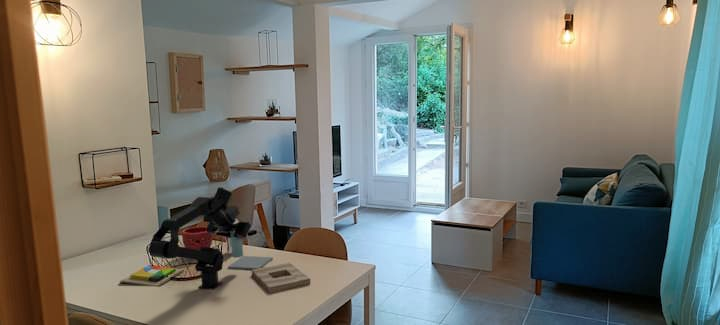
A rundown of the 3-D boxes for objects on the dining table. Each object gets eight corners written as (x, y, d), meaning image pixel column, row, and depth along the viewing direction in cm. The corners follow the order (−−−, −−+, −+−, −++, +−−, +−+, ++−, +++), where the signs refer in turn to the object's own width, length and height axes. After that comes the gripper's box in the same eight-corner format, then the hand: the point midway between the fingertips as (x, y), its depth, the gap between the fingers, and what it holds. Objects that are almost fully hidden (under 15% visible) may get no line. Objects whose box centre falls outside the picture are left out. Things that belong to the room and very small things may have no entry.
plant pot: (208, 259, 224) (206, 232, 223) (179, 259, 225) (177, 233, 223) (217, 249, 237) (215, 225, 236) (190, 250, 238) (187, 226, 236)
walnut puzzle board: (310, 283, 191) (310, 278, 190) (269, 292, 183) (269, 287, 183) (289, 267, 210) (289, 262, 210) (252, 274, 202) (251, 270, 202)
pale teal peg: (245, 255, 207) (243, 227, 205) (235, 258, 204) (233, 229, 202) (239, 253, 210) (238, 225, 208) (230, 255, 207) (228, 227, 205)
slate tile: (258, 270, 207) (258, 268, 207) (228, 268, 211) (227, 266, 211) (272, 259, 221) (272, 257, 221) (243, 257, 224) (243, 255, 224)
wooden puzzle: (161, 287, 194) (160, 278, 193) (118, 285, 197) (117, 276, 197) (185, 271, 210) (185, 263, 210) (145, 269, 214) (144, 262, 214)
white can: (242, 249, 236) (240, 218, 234) (237, 254, 229) (235, 222, 227) (228, 249, 237) (226, 218, 235) (223, 254, 230) (220, 222, 228)
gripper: (246, 202, 196) (264, 222, 208) (208, 199, 204) (228, 219, 215) (235, 226, 190) (254, 246, 202) (196, 223, 198) (217, 242, 209)
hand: (238, 238), depth 207 cm, fingers closed on pale teal peg, 4 cm apart
